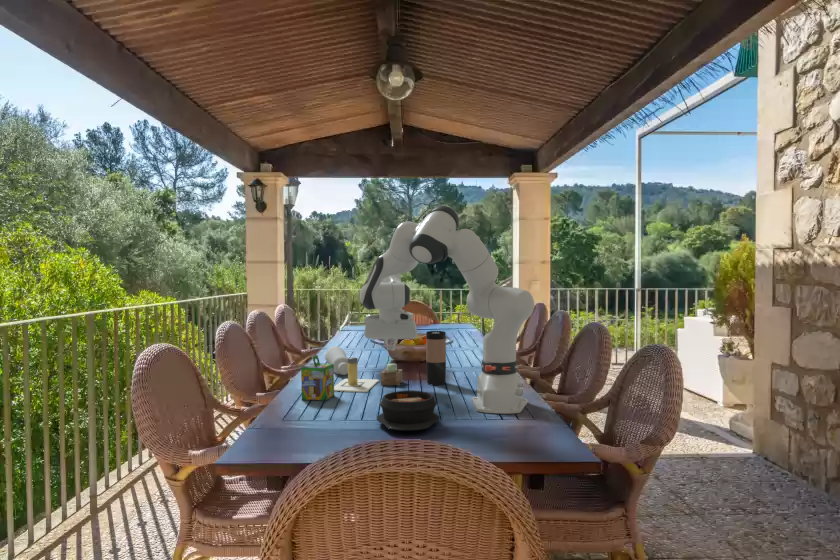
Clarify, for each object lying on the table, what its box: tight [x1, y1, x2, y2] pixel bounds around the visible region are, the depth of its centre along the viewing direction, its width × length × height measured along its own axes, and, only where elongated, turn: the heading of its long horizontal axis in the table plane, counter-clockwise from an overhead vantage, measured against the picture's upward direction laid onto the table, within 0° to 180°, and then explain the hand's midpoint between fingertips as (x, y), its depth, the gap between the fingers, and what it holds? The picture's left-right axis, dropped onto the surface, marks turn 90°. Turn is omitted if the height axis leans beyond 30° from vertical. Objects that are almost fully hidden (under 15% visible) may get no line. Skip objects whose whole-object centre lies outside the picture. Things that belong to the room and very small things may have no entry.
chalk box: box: [300, 354, 335, 402], centre depth 209 cm, size 9×9×15 cm
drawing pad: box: [334, 378, 380, 393], centre depth 228 cm, size 20×14×1 cm
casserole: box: [376, 390, 441, 432], centre depth 176 cm, size 25×19×8 cm
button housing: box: [380, 368, 403, 386], centre depth 232 cm, size 7×7×5 cm
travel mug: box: [425, 330, 447, 386], centre depth 232 cm, size 8×8×20 cm
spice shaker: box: [347, 357, 359, 385], centre depth 228 cm, size 4×4×10 cm
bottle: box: [324, 345, 348, 376], centre depth 258 cm, size 9×9×30 cm
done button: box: [386, 363, 398, 372], centre depth 231 cm, size 4×4×6 cm
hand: (390, 350), depth 231 cm, fingers closed
